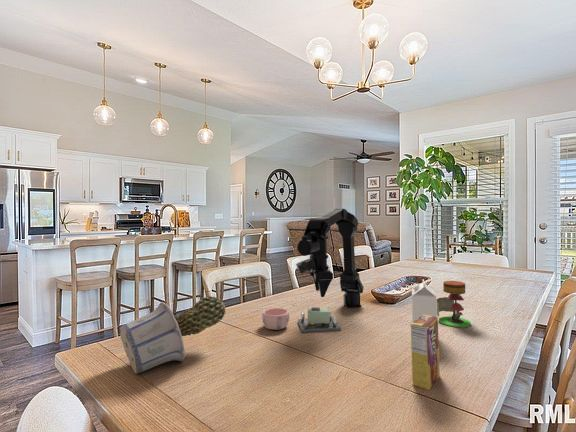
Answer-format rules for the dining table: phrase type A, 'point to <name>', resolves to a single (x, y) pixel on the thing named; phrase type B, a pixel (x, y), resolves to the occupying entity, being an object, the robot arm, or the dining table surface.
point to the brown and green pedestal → (452, 304)
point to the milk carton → (423, 301)
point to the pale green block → (318, 315)
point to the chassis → (318, 324)
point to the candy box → (425, 351)
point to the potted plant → (167, 332)
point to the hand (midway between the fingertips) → (319, 293)
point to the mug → (275, 318)
